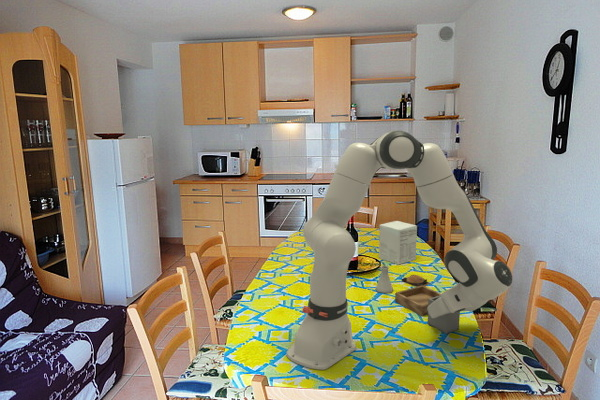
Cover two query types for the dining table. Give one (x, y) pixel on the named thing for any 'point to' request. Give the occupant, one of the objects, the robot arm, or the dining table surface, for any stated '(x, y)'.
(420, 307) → the tray
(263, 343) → the dining table surface
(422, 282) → the bread roll
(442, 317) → the small crate
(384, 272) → the flask
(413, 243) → the supplement box
